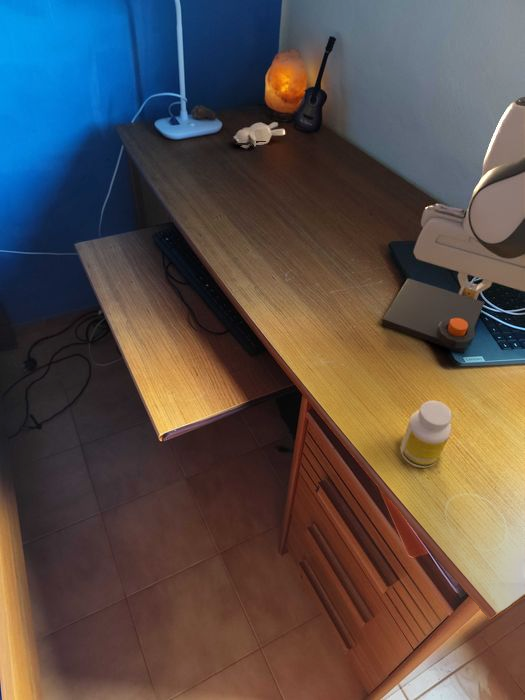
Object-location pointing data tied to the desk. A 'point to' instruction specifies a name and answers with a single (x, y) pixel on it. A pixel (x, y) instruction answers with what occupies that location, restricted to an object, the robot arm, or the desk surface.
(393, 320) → the scale
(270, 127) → the bunny figurine
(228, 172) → the desk surface
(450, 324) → the button
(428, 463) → the supplement bottle
